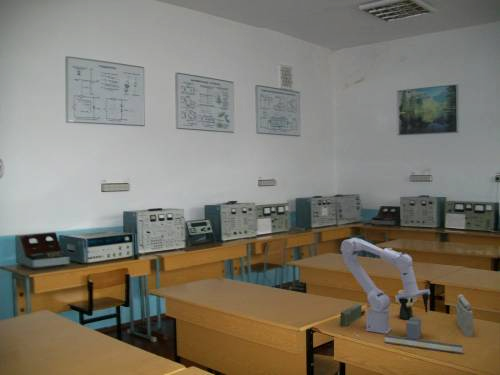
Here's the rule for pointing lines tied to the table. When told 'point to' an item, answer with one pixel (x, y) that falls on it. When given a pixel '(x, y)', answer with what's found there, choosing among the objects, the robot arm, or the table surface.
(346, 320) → the handheld radio
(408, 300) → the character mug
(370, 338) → the table surface
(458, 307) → the geiger counter
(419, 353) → the table surface
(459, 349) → the rail
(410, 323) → the box
